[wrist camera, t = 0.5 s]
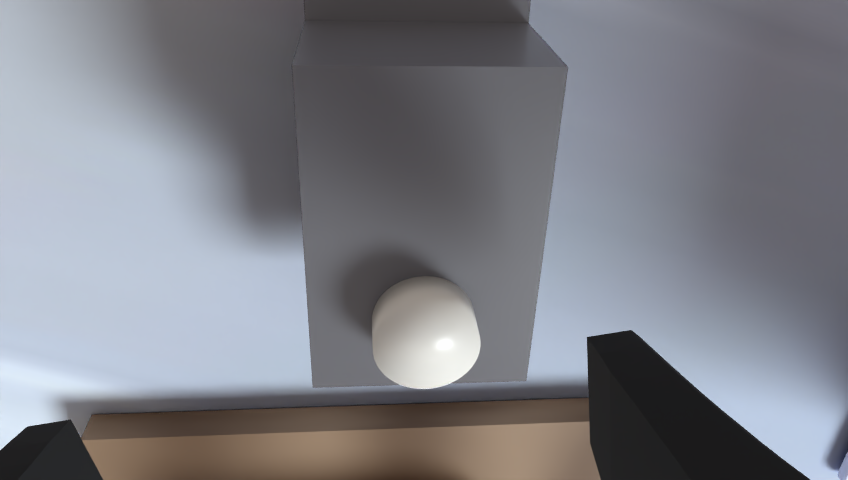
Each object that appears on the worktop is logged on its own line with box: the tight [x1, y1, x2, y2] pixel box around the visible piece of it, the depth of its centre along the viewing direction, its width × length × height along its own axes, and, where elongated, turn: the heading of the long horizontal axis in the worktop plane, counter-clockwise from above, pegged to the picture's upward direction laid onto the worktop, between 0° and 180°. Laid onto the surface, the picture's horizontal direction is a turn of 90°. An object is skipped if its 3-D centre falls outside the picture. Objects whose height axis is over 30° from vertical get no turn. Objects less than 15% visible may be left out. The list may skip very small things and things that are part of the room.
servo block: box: [292, 0, 568, 389], centre depth 14 cm, size 4×10×7 cm, turn 178°
